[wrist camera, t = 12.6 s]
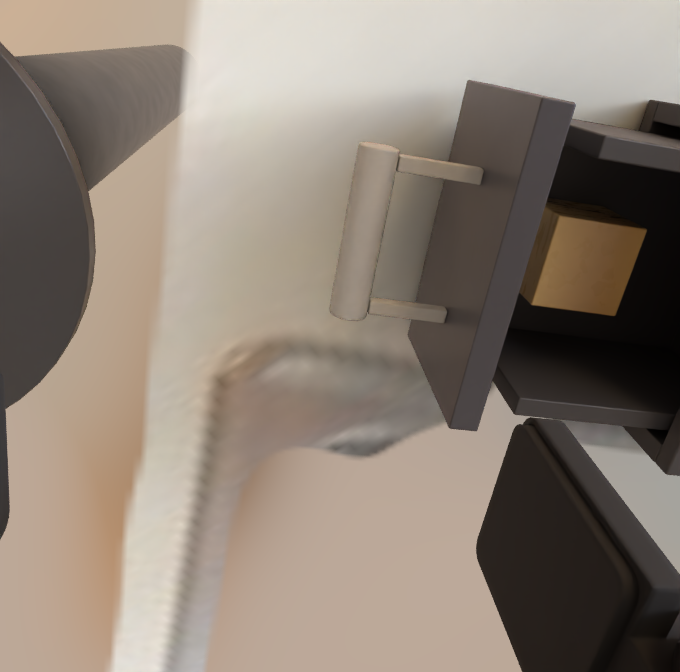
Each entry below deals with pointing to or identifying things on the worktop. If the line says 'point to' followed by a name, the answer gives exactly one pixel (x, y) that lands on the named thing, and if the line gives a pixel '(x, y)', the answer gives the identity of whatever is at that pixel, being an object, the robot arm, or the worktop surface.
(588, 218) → the block
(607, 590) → the robot arm
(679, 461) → the grey open box
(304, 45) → the worktop surface
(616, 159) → the grey drawer with handle
